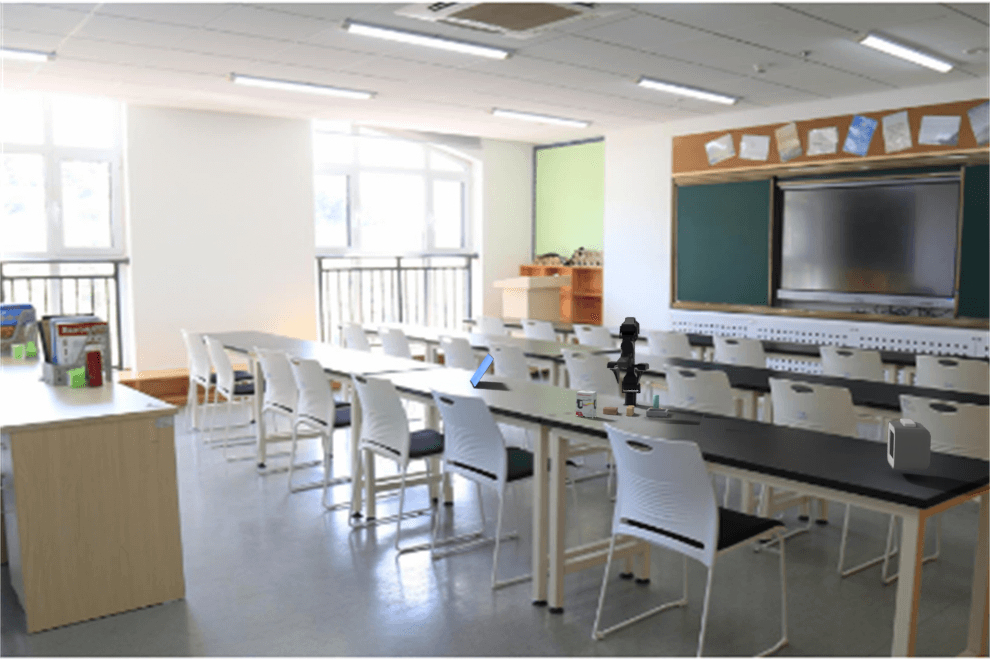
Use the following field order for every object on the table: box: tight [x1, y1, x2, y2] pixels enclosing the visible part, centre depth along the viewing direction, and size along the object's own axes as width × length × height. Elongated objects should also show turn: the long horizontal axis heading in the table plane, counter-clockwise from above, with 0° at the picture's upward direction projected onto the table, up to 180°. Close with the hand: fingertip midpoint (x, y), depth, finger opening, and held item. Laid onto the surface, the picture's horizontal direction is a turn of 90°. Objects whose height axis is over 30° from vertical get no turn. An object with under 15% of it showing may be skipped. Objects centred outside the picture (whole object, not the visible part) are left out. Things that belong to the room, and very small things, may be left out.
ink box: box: [575, 390, 598, 418], centre depth 394 cm, size 9×5×12 cm, turn 62°
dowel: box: [652, 394, 660, 409], centre depth 408 cm, size 3×3×8 cm
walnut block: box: [602, 406, 619, 416], centre depth 404 cm, size 6×6×3 cm
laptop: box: [469, 353, 495, 389], centre depth 493 cm, size 30×32×18 cm
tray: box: [645, 407, 669, 419], centre depth 399 cm, size 9×9×2 cm
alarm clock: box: [886, 418, 932, 472], centre depth 294 cm, size 16×11×16 cm
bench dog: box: [625, 406, 635, 417], centre depth 402 cm, size 8×2×4 cm, turn 164°
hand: (627, 384), depth 401 cm, fingers open, 9 cm apart
